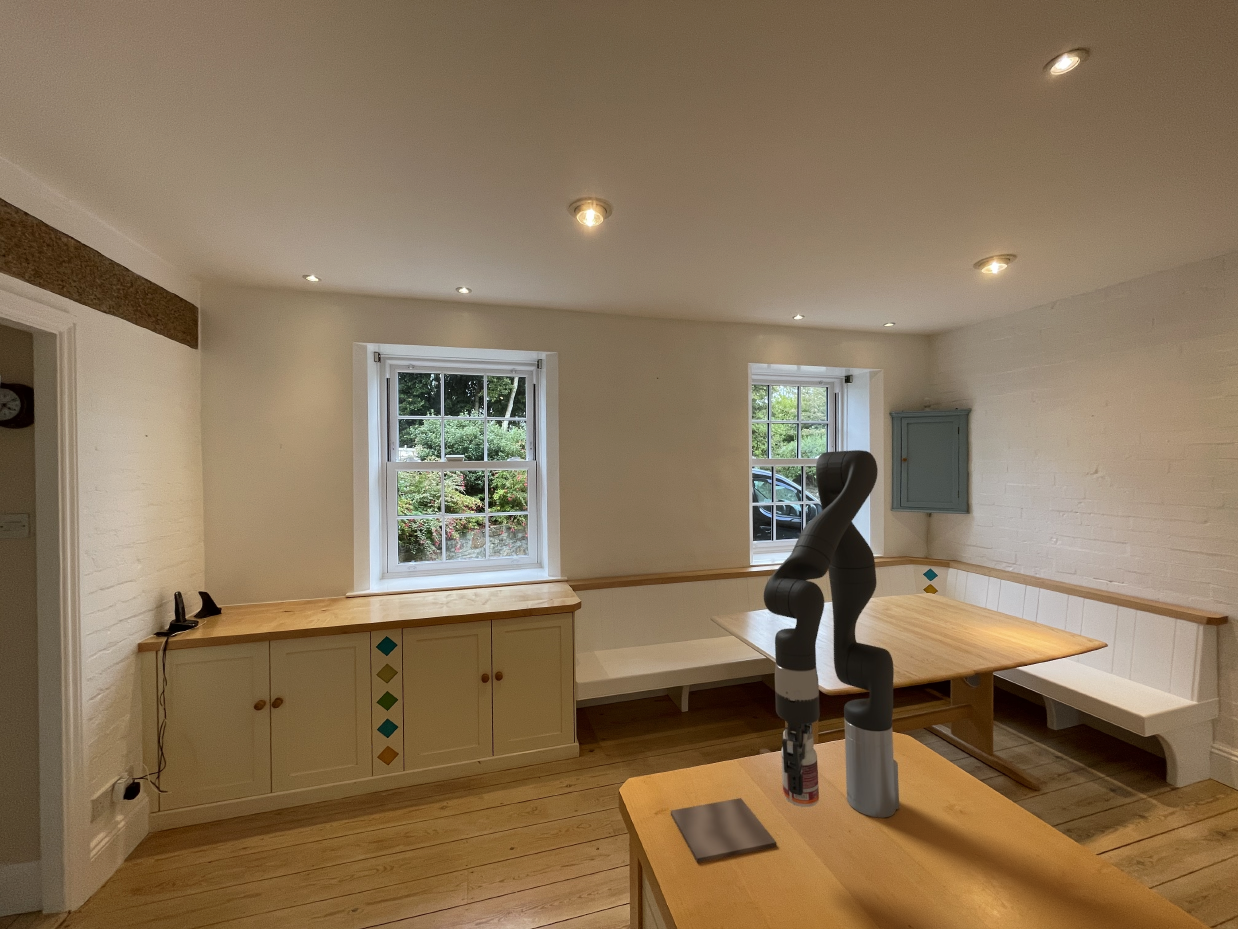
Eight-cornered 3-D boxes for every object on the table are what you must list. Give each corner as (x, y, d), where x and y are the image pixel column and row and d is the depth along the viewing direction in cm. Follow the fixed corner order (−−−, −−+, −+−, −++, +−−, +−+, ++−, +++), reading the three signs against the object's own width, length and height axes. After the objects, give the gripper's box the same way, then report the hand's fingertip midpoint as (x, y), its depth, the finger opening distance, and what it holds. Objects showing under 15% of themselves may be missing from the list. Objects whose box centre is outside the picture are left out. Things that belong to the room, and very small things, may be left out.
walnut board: (741, 801, 109) (740, 798, 109) (776, 846, 95) (776, 842, 95) (670, 814, 105) (670, 810, 105) (697, 863, 91) (697, 858, 91)
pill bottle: (826, 800, 90) (823, 736, 91) (804, 813, 87) (802, 746, 87) (797, 783, 96) (794, 722, 96) (775, 795, 92) (773, 732, 93)
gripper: (784, 672, 100) (787, 758, 100) (765, 700, 88) (768, 799, 87) (825, 679, 96) (828, 768, 96) (810, 709, 84) (814, 812, 83)
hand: (800, 782), depth 91 cm, fingers closed on pill bottle, 6 cm apart
